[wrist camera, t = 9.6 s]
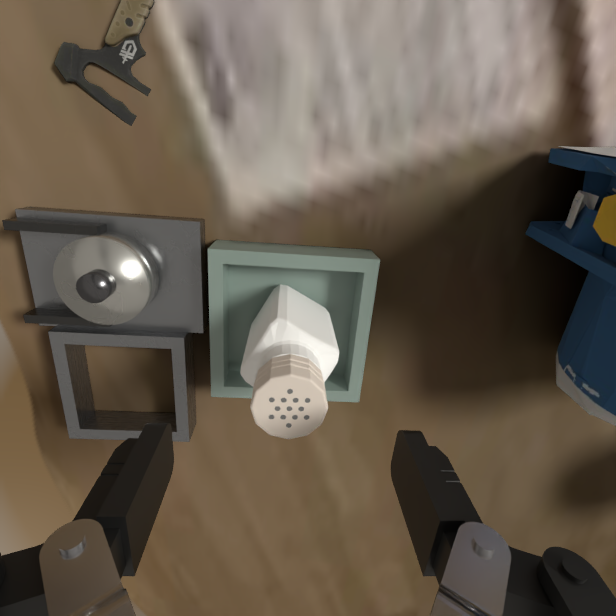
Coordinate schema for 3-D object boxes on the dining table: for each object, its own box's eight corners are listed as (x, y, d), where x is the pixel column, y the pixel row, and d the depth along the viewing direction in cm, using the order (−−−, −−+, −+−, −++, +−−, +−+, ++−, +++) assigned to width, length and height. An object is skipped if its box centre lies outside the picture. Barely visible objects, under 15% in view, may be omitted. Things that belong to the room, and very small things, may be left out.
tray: (216, 239, 22) (207, 248, 20) (370, 249, 23) (380, 259, 21) (218, 375, 26) (211, 396, 23) (352, 380, 26) (358, 402, 24)
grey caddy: (29, 206, 21) (-27, 215, 17) (204, 218, 22) (186, 229, 18) (70, 418, 27) (34, 459, 23) (209, 423, 27) (197, 464, 24)
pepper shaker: (332, 309, 24) (357, 394, 15) (299, 355, 25) (304, 460, 16) (279, 277, 23) (272, 349, 14) (247, 327, 24) (222, 422, 15)
